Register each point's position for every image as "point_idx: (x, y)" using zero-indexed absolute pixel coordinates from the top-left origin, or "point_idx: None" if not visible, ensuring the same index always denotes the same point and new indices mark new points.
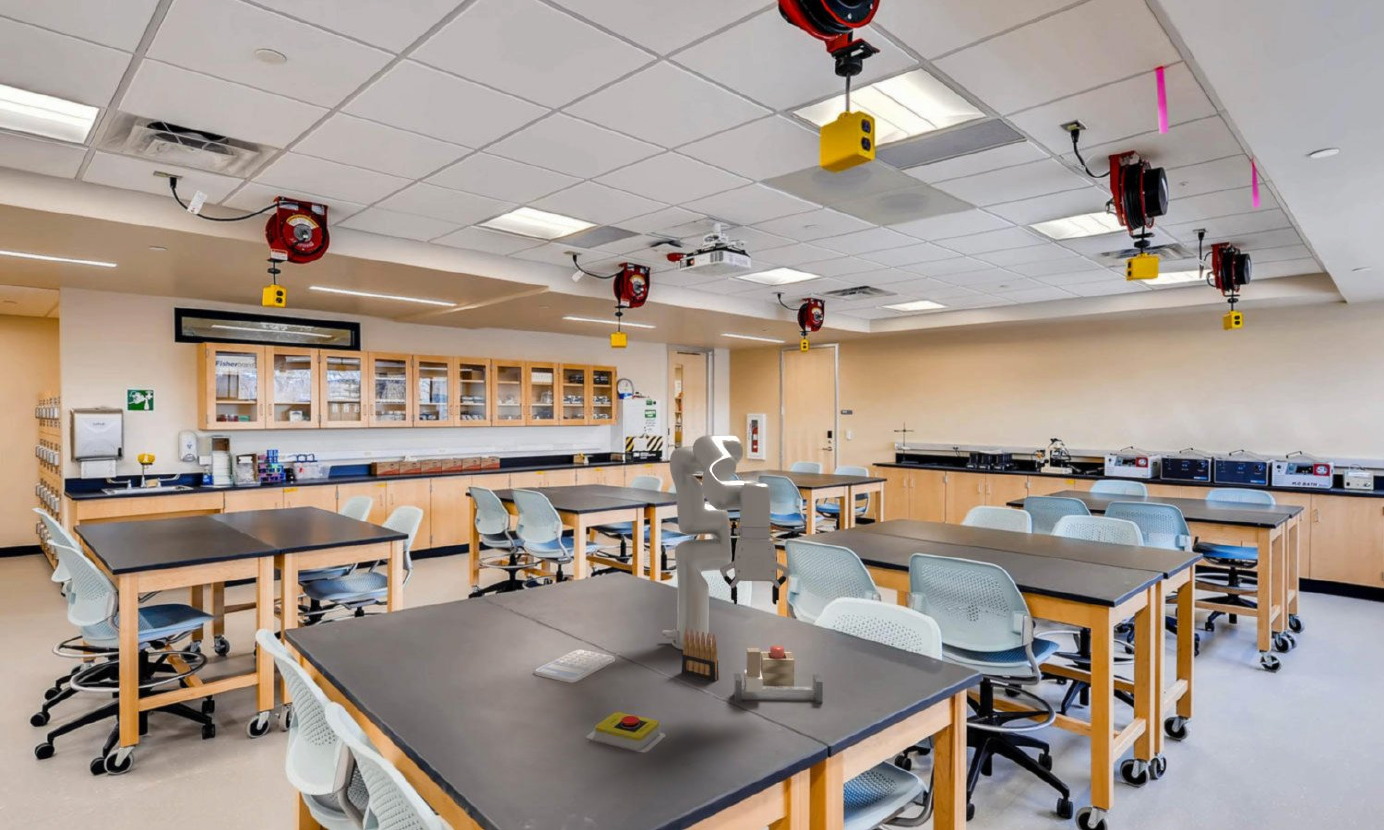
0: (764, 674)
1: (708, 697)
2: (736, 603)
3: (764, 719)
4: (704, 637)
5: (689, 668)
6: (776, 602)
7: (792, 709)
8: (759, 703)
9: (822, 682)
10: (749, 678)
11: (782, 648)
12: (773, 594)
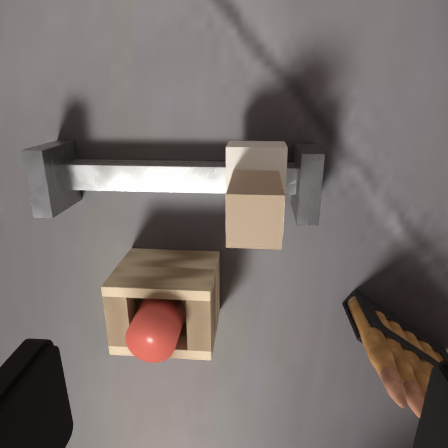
0: (210, 266)
1: (394, 175)
2: (441, 366)
3: (238, 3)
4: None
5: (431, 348)
6: (19, 346)
7: (145, 88)
8: (241, 132)
9: (23, 150)
10: (274, 152)
11: (131, 335)
12: (1, 429)
